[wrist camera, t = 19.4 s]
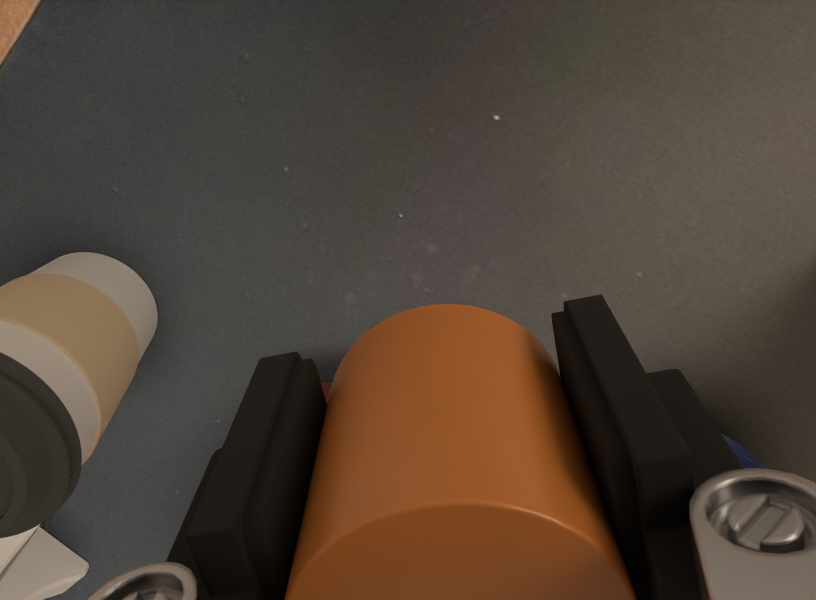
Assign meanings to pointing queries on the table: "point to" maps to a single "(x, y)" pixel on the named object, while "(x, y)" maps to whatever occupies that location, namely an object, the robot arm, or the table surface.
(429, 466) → the orange cylinder
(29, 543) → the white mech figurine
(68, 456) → the coffee cup
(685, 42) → the table surface
